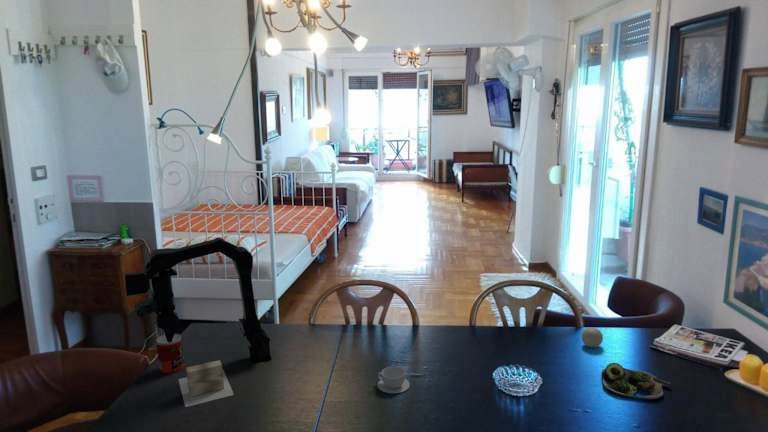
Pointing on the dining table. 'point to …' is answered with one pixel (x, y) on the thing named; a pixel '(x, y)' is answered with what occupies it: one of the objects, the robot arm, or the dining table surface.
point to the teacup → (393, 380)
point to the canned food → (170, 354)
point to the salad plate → (631, 382)
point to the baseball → (592, 337)
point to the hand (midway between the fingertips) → (168, 336)
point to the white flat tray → (204, 397)
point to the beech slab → (205, 378)
